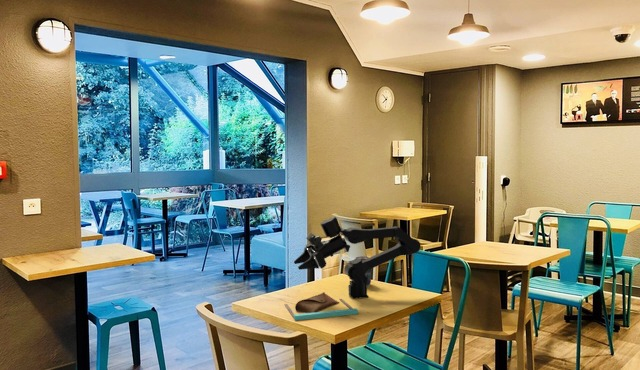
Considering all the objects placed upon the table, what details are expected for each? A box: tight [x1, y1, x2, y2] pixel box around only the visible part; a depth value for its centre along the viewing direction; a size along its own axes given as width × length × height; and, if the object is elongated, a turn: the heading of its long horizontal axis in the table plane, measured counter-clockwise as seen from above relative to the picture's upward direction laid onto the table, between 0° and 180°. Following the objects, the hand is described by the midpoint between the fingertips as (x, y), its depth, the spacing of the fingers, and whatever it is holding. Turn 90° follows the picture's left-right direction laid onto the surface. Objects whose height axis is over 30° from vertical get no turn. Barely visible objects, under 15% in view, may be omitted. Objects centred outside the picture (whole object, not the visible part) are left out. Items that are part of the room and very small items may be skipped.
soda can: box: [355, 256, 372, 287], centre depth 234 cm, size 7×7×12 cm
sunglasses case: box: [294, 291, 340, 313], centre depth 203 cm, size 18×7×7 cm
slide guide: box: [284, 298, 359, 321], centre depth 199 cm, size 23×20×2 cm
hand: (296, 265), depth 209 cm, fingers open, 9 cm apart
